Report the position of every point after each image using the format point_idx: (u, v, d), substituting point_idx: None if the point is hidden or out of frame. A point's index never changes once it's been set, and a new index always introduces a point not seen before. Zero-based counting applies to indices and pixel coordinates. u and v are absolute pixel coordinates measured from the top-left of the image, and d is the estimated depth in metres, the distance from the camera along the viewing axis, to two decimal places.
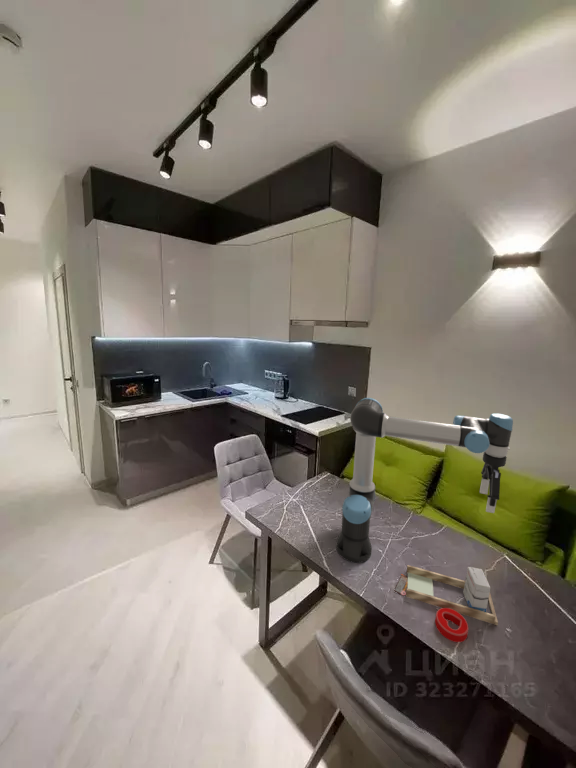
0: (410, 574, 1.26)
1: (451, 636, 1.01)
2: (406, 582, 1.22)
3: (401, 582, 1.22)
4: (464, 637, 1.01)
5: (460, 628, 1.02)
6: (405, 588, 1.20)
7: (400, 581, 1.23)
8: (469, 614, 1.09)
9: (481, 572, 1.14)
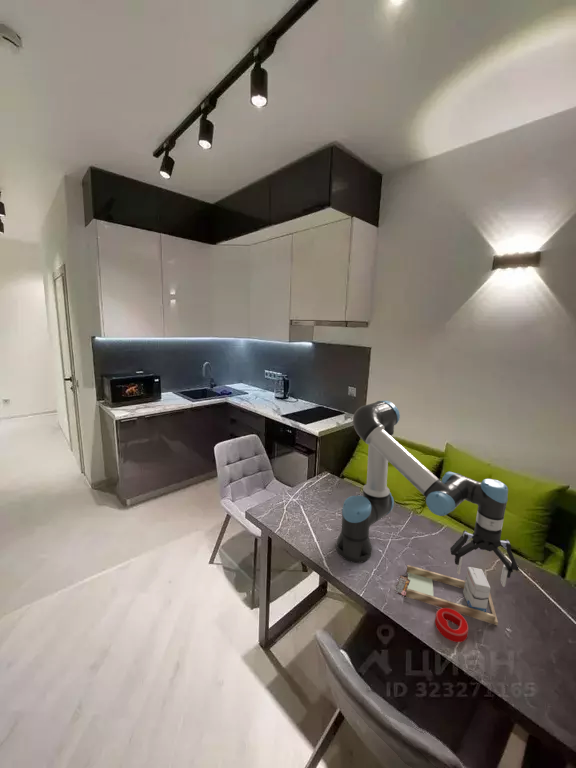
0: (410, 574, 1.26)
1: (451, 636, 1.01)
2: (406, 582, 1.22)
3: (401, 582, 1.22)
4: (464, 637, 1.01)
5: (460, 628, 1.02)
6: (405, 588, 1.20)
7: (400, 581, 1.23)
8: (469, 614, 1.09)
9: (481, 572, 1.14)
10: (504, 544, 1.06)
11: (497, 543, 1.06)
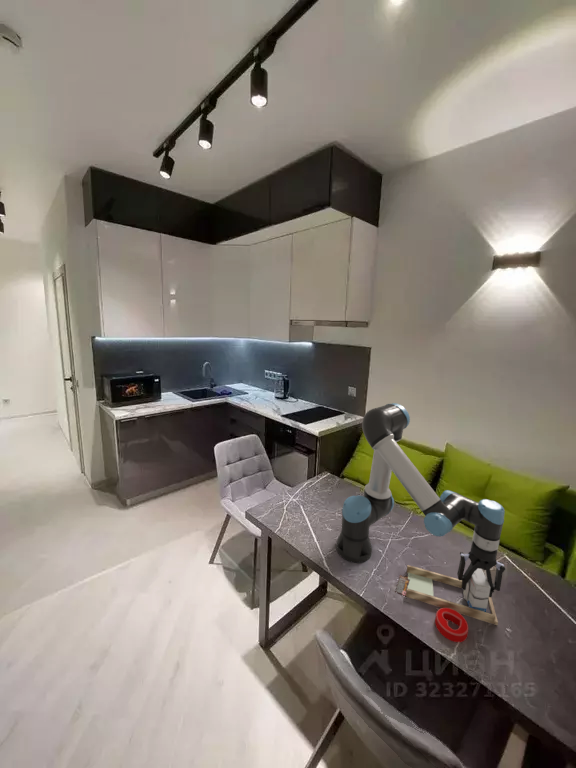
0: (410, 574, 1.26)
1: (451, 636, 1.01)
2: (405, 581, 1.23)
3: (400, 582, 1.22)
4: (464, 637, 1.01)
5: (460, 628, 1.02)
6: (405, 588, 1.20)
7: (399, 581, 1.23)
8: (469, 614, 1.09)
9: (481, 572, 1.14)
10: (498, 565, 1.08)
11: (493, 563, 1.08)
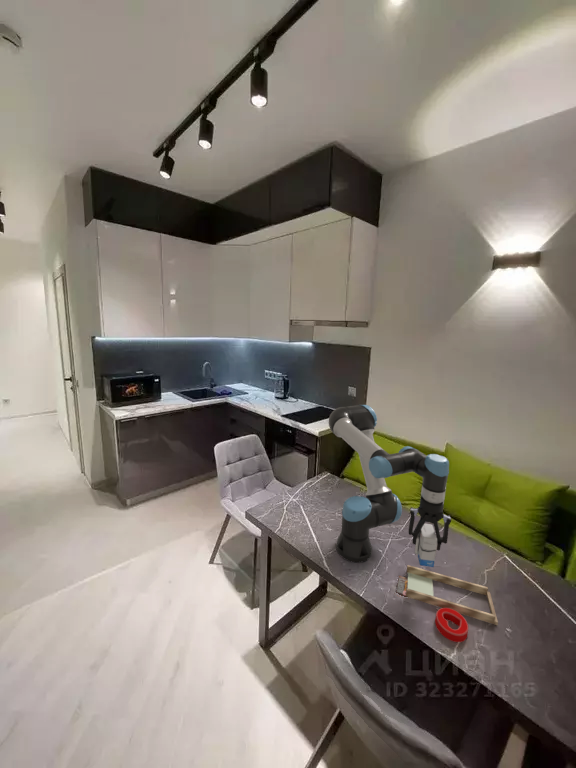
0: (410, 574, 1.26)
1: (452, 636, 1.01)
2: (405, 581, 1.23)
3: (400, 582, 1.22)
4: (464, 637, 1.01)
5: (460, 628, 1.02)
6: (406, 588, 1.20)
7: (399, 581, 1.23)
8: (469, 614, 1.09)
9: (431, 527, 1.17)
10: (445, 518, 1.11)
11: (440, 515, 1.11)
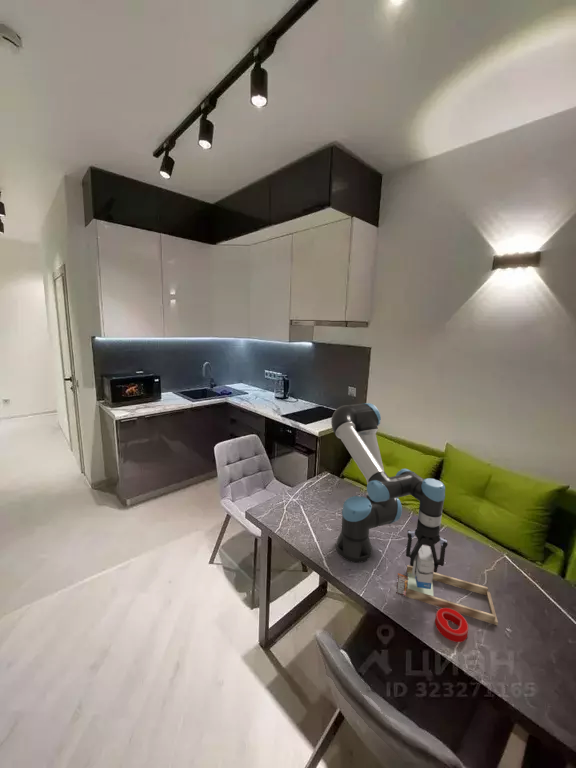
0: (410, 574, 1.26)
1: (452, 636, 1.01)
2: (405, 581, 1.23)
3: (400, 582, 1.22)
4: (464, 637, 1.01)
5: (460, 628, 1.02)
6: (406, 588, 1.20)
7: (399, 581, 1.23)
8: (469, 614, 1.09)
9: (428, 549, 1.19)
10: (442, 541, 1.13)
11: (437, 539, 1.13)
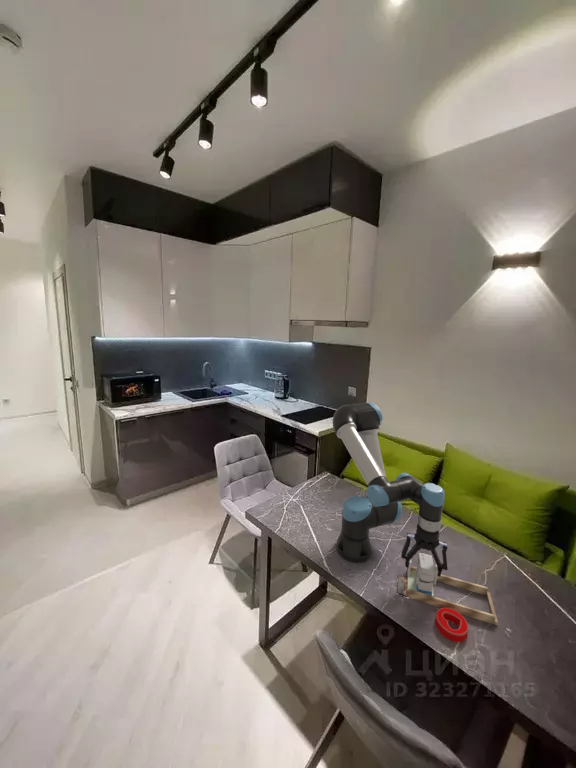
0: (410, 574, 1.26)
1: (452, 636, 1.01)
2: (404, 581, 1.23)
3: (400, 582, 1.22)
4: (464, 637, 1.01)
5: (460, 628, 1.02)
6: (406, 587, 1.20)
7: (399, 581, 1.23)
8: (469, 614, 1.09)
9: (430, 558, 1.19)
10: (442, 545, 1.14)
11: (436, 543, 1.14)
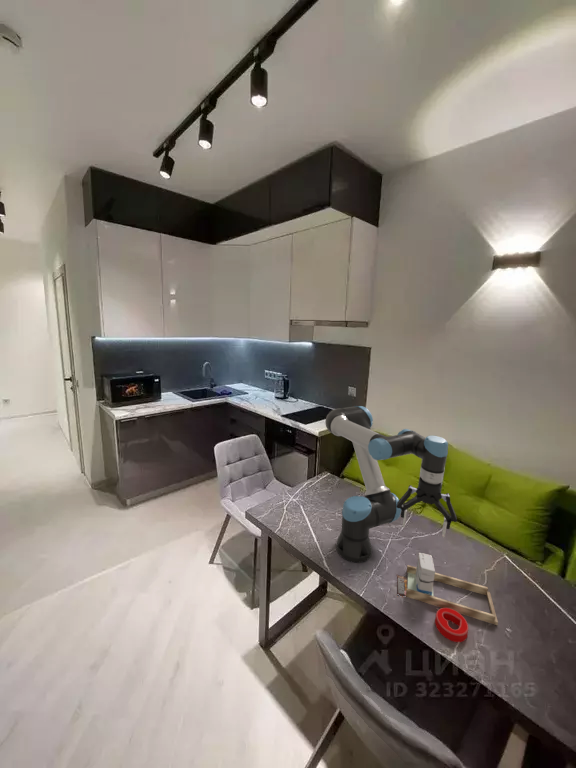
0: (410, 574, 1.26)
1: (452, 636, 1.01)
2: (404, 581, 1.23)
3: (400, 582, 1.22)
4: (464, 637, 1.01)
5: (460, 628, 1.02)
6: (406, 587, 1.20)
7: (399, 581, 1.23)
8: (469, 614, 1.09)
9: (430, 558, 1.19)
10: (444, 497, 1.12)
11: (438, 496, 1.12)
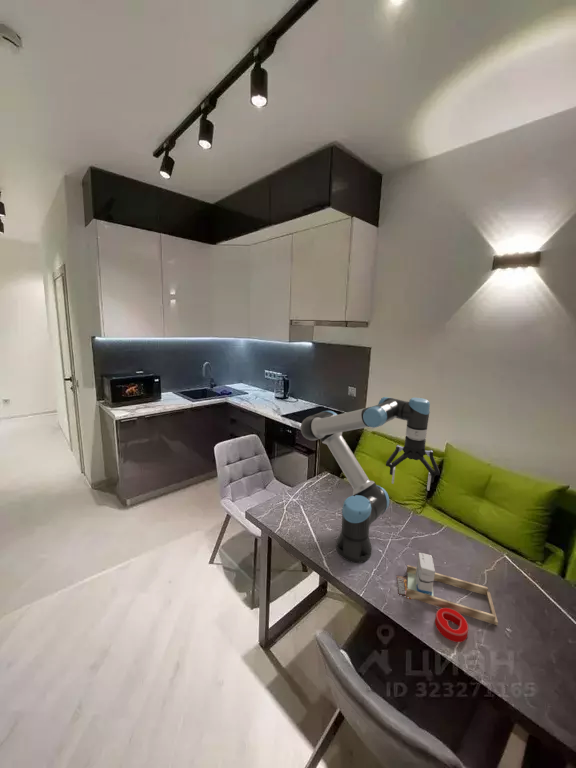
0: (410, 574, 1.26)
1: (452, 636, 1.01)
2: (404, 581, 1.23)
3: (400, 582, 1.22)
4: (464, 637, 1.01)
5: (460, 628, 1.02)
6: (406, 587, 1.20)
7: (399, 582, 1.23)
8: (469, 614, 1.09)
9: (430, 558, 1.19)
10: (428, 453, 1.24)
11: (422, 452, 1.24)
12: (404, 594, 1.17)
